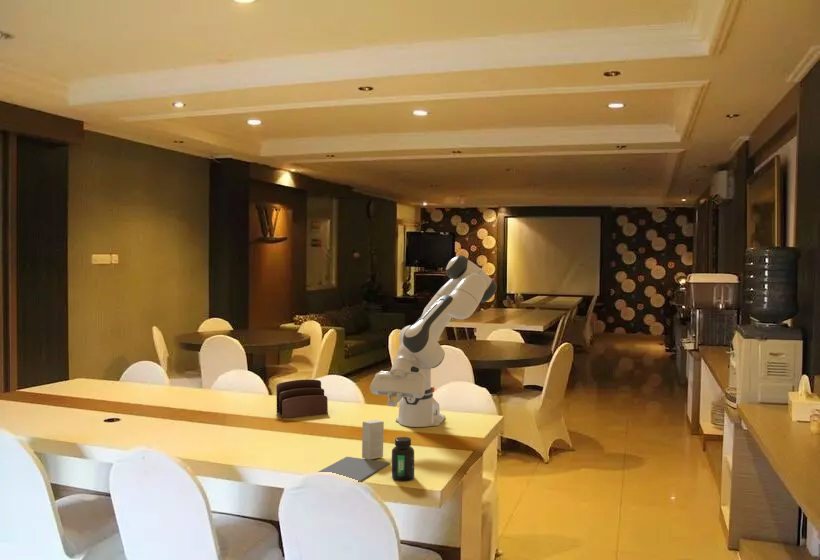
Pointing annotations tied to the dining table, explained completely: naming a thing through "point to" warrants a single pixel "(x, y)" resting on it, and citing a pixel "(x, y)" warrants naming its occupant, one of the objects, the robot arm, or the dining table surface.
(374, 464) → the mat
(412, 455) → the supplement bottle
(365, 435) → the skincare box
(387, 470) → the dining table surface
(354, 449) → the dining table surface
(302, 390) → the letter holder
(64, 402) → the dining table surface
